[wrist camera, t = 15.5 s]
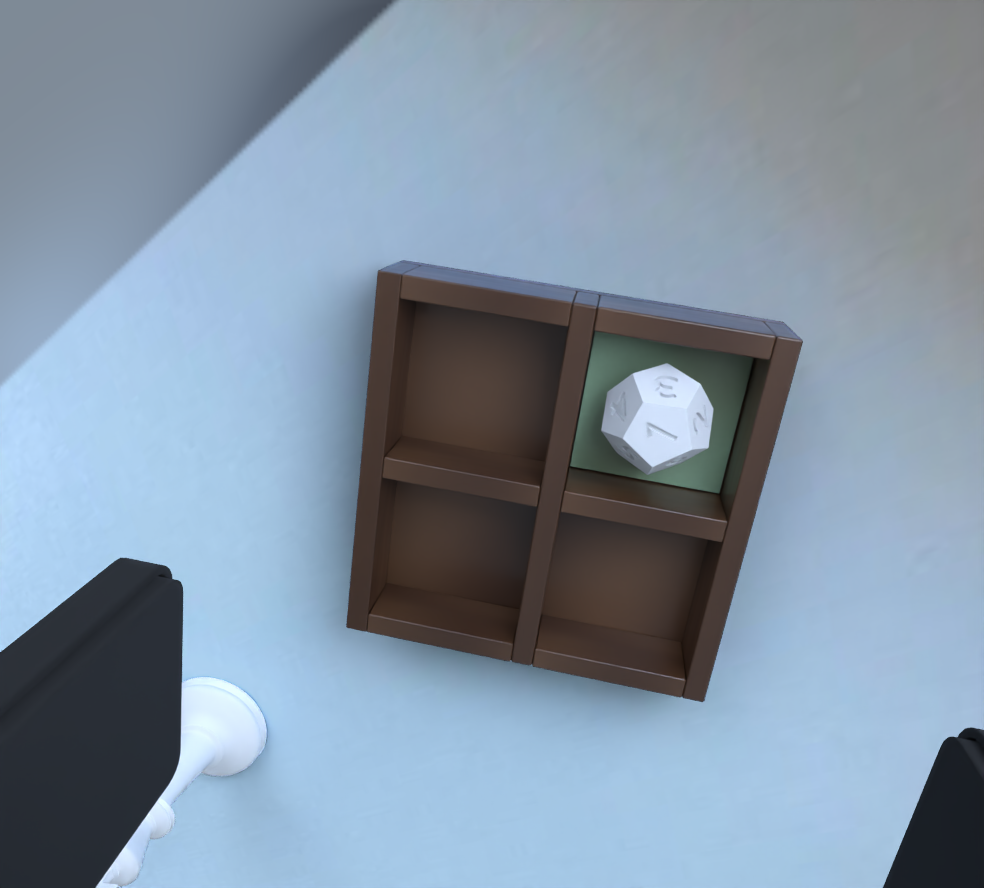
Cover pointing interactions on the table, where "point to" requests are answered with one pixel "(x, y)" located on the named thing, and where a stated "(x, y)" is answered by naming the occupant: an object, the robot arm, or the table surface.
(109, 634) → the robot arm
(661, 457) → the game die
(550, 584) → the grid
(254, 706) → the chess piece
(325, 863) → the table surface
